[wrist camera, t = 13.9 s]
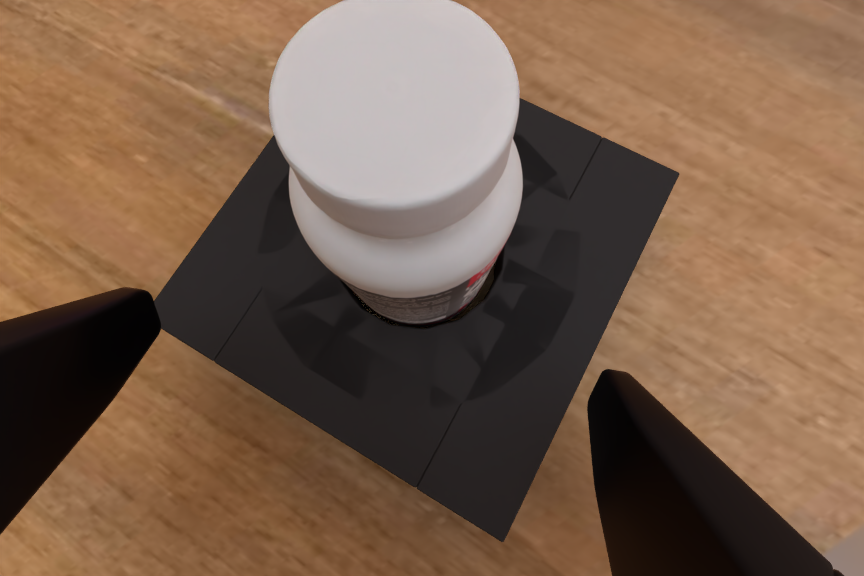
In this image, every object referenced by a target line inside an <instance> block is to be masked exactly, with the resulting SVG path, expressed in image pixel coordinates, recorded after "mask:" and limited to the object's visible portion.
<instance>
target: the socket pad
mask: <svg viewBox="0 0 864 576" xmlns="http://www.w3.org/2000/svg"><path fill="white" fill-rule="evenodd" d="M513 140H514V142H515V145H516V147H517V151H518V154H519V157H520V162H521V167H522V178H523V189H522V199H521V204H520V209H519V212H518V216H517V219H516V222H515V224H514V227H513V229H512V231H511V234H510V236H509V238H508V240H507V242H506V243H505V245H504V247H503V249H502V250H501V252H500V254H499V255H498V257H497V259H496V265H495V276H494V282H493V284H492V286H491V288H490V289H489V291H488V293H487V295H486V297H485V298H484V300H483V301H482V302H481V303H479V304H478V305H477V306H475V307H474V308H473V309H472V310H470V311H469V312H468V313H466V314H465V315H464V316H463V317H461V318H460V319H459V320H456V321H452V322H448V323H445V324H441V325H437V326H434V327H430V328H427V329H421V328H413V327H405V326H397V325H390V324H388V323H386V322H385V321H383V320H381V319H379V318H378V317H376V316H374V315H372V314H371V313H369V312H367V310H366V309H365V308H364V306H363V305H362V304H361V302H360V301H359V300H358V298H357V297H356V296H355V294H354V293H353V292H352V289H351V288H349V287H348V286H347V285H346V284H345V283H344V282H343V281H342V280H341V279H339V278H338V277H337V276H336V275H335V274H334V273H333V272H332V271H330V270H329V269H328V268H327V267H326V266H325V265H324V264H323V263H322V262H321V261H320V260H319V258H318V257H317V256H316V255H315V254H314V252H313V251H312V250H311V248H310V247H309V245H308V244H307V242H306V241H305V239H304V237H303V235H302V233H301V231H300V229H299V227H298V225H297V222H296V219H295V217H294V214H293V210H292V206H291V202H290V196H289V171H290V165H289V164H288V162H287V160H286V159H285V157H284V155H283V154H282V152H281V150H280V148H279V146H278V144H277V141H276V138H275V135H274V136H273V137H272V139H271V140H270V141H269V143H268V144H267V145H266V147H265V148H264V150H263V151H262V152H261V154H260V155H259V157H258V158H257V159H256V161H255V162H254V163H253V165H252V166H251V168H250V169H249V170H248V172H247V173H246V175H245V176H244V177H243V179H242V180H241V181H240V183H239V184H238V186H237V187H236V188H235V190H234V191H233V193H232V194H231V195H230V197H229V198H228V199H227V201H226V202H225V204H224V205H223V206H222V208H221V209H220V211H219V212H218V213H217V215H216V216H215V217H214V219H213V220H212V222H211V223H210V224H209V226H208V227H207V229H206V230H205V231H204V233H203V234H202V235H201V237H200V238H199V240H198V241H197V242H196V244H195V245H194V247H193V248H192V249H191V251H190V252H189V253H188V255H187V256H186V258H185V259H184V260H183V262H182V263H181V265H180V266H179V267H178V269H177V270H176V271H175V273H174V274H173V276H172V277H171V278H170V280H169V281H168V283H167V284H166V285H165V287H164V288H163V289H162V291H161V292H160V294H159V295H158V296H157V298H156V299H155V301H154V304H155V307H156V309H157V312H158V315H159V318H160V321H161V329H163V330H165V331H166V332H168V333H169V334H171V335H173V336H174V337H176V338H177V339H179V340H181V341H182V342H184V343H185V344H187V345H188V346H190V347H192V348H193V349H195V350H196V351H198V352H200V353H201V354H203V355H204V356H206V357H208V358H209V359H211V360H212V361H215V363H217V364H219V365H220V366H222V367H223V368H225V369H226V370H228V371H230V372H231V373H233V374H234V375H236V376H238V377H239V378H241V379H242V380H244V381H246V382H247V383H249V384H250V385H252V386H254V387H255V388H257V389H258V390H260V391H262V392H263V393H265V394H266V395H268V396H270V397H271V398H273V399H274V400H276V401H278V402H279V403H281V404H282V405H284V406H286V407H287V408H289V409H290V410H292V411H294V412H295V413H297V414H298V415H300V416H302V417H303V418H305V419H306V420H308V421H309V422H311V423H313V424H314V425H316V426H317V427H319V428H321V429H322V430H324V431H325V432H327V433H329V434H330V435H332V436H333V437H335V438H337V439H338V440H340V441H341V442H343V443H345V444H346V445H348V446H349V447H351V448H353V449H354V450H356V451H357V452H359V453H361V454H362V455H364V456H365V457H367V458H369V459H370V460H372V461H373V462H375V463H377V464H378V465H380V466H381V467H383V468H384V469H386V470H388V471H389V472H391V473H392V474H394V475H396V476H397V477H399V478H400V479H402V480H404V481H405V482H407V483H408V484H410V485H412V486H413V487H417V489H418V490H420V491H421V492H423V493H424V494H426V495H428V496H429V497H431V498H432V499H434V500H436V501H437V502H439V503H440V504H442V505H444V506H445V507H447V508H448V509H450V510H452V511H453V512H455V513H456V514H458V515H460V516H461V517H463V518H464V519H466V520H468V521H469V522H471V523H472V524H474V525H475V526H477V527H479V528H480V529H482V530H483V531H485V532H487V533H488V534H490V535H491V536H493V537H495V538H496V539H498V540H499V541H501V542H504V540H505V538H506V536H507V534H508V532H509V530H510V527H511V525H512V523H513V521H514V519H515V517H516V515H517V513H518V511H519V509H520V507H521V504H522V502H523V500H524V498H525V496H526V494H527V492H528V490H529V488H530V486H531V484H532V481H533V479H534V477H535V475H536V473H537V471H538V469H539V467H540V465H541V463H542V461H543V458H544V456H545V454H546V452H547V450H548V448H549V446H550V444H551V442H552V440H553V438H554V435H555V433H556V431H557V429H558V427H559V425H560V423H561V421H562V419H563V417H564V414H565V412H566V410H567V408H568V406H569V404H570V402H571V400H572V398H573V396H574V394H575V391H576V389H577V387H578V385H579V383H580V381H581V379H582V377H583V375H584V373H585V371H586V368H587V366H588V364H589V362H590V360H591V358H592V356H593V354H594V352H595V350H596V348H597V345H598V343H599V341H600V339H601V337H602V335H603V333H604V331H605V329H606V327H607V325H608V322H609V320H610V318H611V316H612V314H613V312H614V310H615V308H616V306H617V304H618V302H619V299H620V297H621V295H622V293H623V291H624V289H625V287H626V285H627V283H628V281H629V279H630V276H631V274H632V272H633V270H634V268H635V266H636V264H637V262H638V260H639V258H640V255H641V253H642V251H643V249H644V247H645V245H646V243H647V241H648V239H649V237H650V235H651V232H652V230H653V228H654V226H655V224H656V222H657V220H658V218H659V216H660V214H661V212H662V209H663V207H664V205H665V203H666V201H667V199H668V197H669V195H670V193H671V191H672V189H673V186H674V184H675V182H676V180H677V178H678V176H679V173H678V172H676V171H674V170H672V169H670V168H667V167H665V166H663V165H661V164H659V163H657V162H655V161H653V160H651V159H648V158H646V157H644V156H642V155H640V154H638V153H636V152H634V151H631V150H629V149H627V148H625V147H623V146H621V145H619V144H617V143H615V142H612V141H610V140H608V139H606V138H602V137H601V136H599V135H597V134H595V133H593V132H591V131H589V130H587V129H584V128H582V127H580V126H578V125H576V124H574V123H572V122H570V121H567V120H565V119H563V118H561V117H559V116H557V115H555V114H553V113H551V112H548V111H546V110H544V109H542V108H540V107H538V106H536V105H534V104H532V103H529V102H527V101H525V100H523V99H521V98H519V113H518V119H517V123H516V128H515V133H514V136H513Z"/></svg>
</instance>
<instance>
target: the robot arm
mask: <svg viewBox="0 0 864 576" xmlns="http://www.w3.org/2000/svg"><path fill="white" fill-rule="evenodd" d="M160 330H161V321H160V318H159V315H158V312H157V309H156V307H155V304H154V301H153V298H152V296H151V294H150V293H149V292H148V291H145V290H142V289H136V288H130V287H123V288H119V289H116V290H112V291H108V292H105V293H101V294H98V295H94V296H91V297H87V298H84V299H80V300H77V301H73V302H70V303H66V304H63V305H59V306H56V307H52V308H48V309H45V310H41V311H38V312H34V313H31V314H27V315H24V316H20V317H17V318H13V319H10V320H6V321H3V322H0V534H1V533H2V532H3V531H4V530H5V529H6V527H7V526H8V525H9V524H10V523H11V521H12V520H13V519H14V518H15V517H16V515H17V514H18V513H19V512H20V511H21V509H22V508H23V507H24V506H25V505H26V503H27V502H28V501H29V500H30V499H31V497H32V496H33V495H34V494H35V493H36V492H37V490H38V489H39V488H40V487H41V486H42V484H43V483H44V482H45V481H46V480H47V478H48V477H49V476H50V475H51V474H52V472H53V471H54V470H55V469H56V468H57V466H58V465H59V464H60V463H61V462H62V461H63V459H64V458H65V457H66V456H67V455H68V453H69V452H70V451H71V450H72V449H73V447H74V446H75V445H76V444H77V443H78V441H79V440H80V439H81V438H82V437H83V435H84V434H85V433H86V432H87V431H88V429H89V428H90V427H91V426H92V425H93V424H94V422H95V421H96V420H97V419H98V418H99V416H100V415H101V414H102V413H103V412H104V410H105V409H106V408H107V407H108V405H109V404H110V403H111V402H112V400H113V399H114V398H115V396H116V395H117V394H118V392H119V391H120V390H121V388H122V387H123V385H124V384H125V382H126V381H127V380H128V378H129V377H130V375H131V374H132V372H133V371H134V369H135V368H136V367H137V365H138V364H139V362H140V361H141V359H142V358H143V356H144V355H145V354H146V352H147V351H148V349H149V348H150V346H151V345H152V343H153V342H154V341H155V339H156V338H157V336H158V335H159V332H160ZM587 411H588V422H589V433H590V444H591V455H592V466H593V477H594V485H595V492H596V498H597V503H598V508H599V513H600V518H601V523H602V528H603V533H604V537H605V542H606V547H607V552H608V557H609V562H610V567H611V572H612V576H844V575H843V574H842V573H841V572H839V571H838V570H835V569H833V567H832V565H831V563H830V562H829V561H828V560H827V559H826V558H825V557H823V556H822V555H821V554H820V553H819V552H818V551H817V550H816V549H815V548H814V547H813V546H812V545H811V544H810V543H809V542H808V541H806V540H805V539H804V538H803V537H802V536H801V535H800V534H799V533H798V532H797V531H796V530H795V529H794V528H793V527H792V526H791V525H789V524H788V523H787V522H786V521H785V520H784V519H783V518H782V517H781V516H780V515H779V514H778V513H777V512H776V511H775V510H774V509H773V508H771V507H770V506H769V505H768V504H767V503H766V502H765V501H764V500H763V499H762V498H761V497H760V496H759V495H758V494H757V493H756V492H754V491H753V490H752V489H751V488H750V487H749V486H748V485H747V484H746V483H745V482H744V481H743V480H742V479H741V478H740V477H739V476H737V475H736V474H735V473H734V472H733V471H732V470H731V469H730V468H729V467H728V466H727V465H726V464H725V463H724V462H723V461H722V460H720V459H719V458H718V457H717V456H716V455H715V454H714V453H713V452H712V451H711V450H710V449H709V448H708V447H707V446H706V445H705V444H703V443H702V442H701V441H700V440H699V439H698V438H697V437H696V436H695V435H694V434H693V433H692V432H691V431H690V430H689V429H688V428H686V427H685V426H684V425H683V424H682V423H681V422H680V421H679V420H678V419H677V418H676V417H675V416H674V415H673V414H672V413H671V412H669V411H668V410H667V409H666V408H665V407H664V406H663V405H662V404H661V403H660V402H659V401H658V400H657V399H656V398H655V397H654V396H652V395H651V394H650V393H649V392H648V391H647V390H646V389H645V388H644V387H643V386H642V385H641V384H640V383H639V382H638V381H637V380H635V379H634V378H633V377H632V376H631V375H630V374H628V373H626V372H622V371H616V370H610V369H607V370H604V371H603V372H602V373H601V375H600V377H599V379H598V381H597V383H596V385H595V387H594V389H593V391H592V393H591V395H590V397H589V400H588V407H587Z"/></svg>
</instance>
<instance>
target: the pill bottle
mask: <svg viewBox="0 0 864 576" xmlns="http://www.w3.org/2000/svg"><path fill="white" fill-rule="evenodd" d="M518 113H519V82H518V77H517V72H516V69H515V65H514V63H513V60H512V58H511V56H510V54H509V52H508V49H507V48H506V46H505V44H504V43H503V41H502V40H501V39H500V37H499V36H498V34H497V33H496V32H495V31H494V30H493V29H492V28H491V27H490V25H488V24H487V23H486V22H485V21H484V20H483V19H482V18H480V17H479V16H478V15H476V14H475V13H474V12H473V11H471V10H470V9H468V8H466V7H464V6H462V5H460V4H458V3H456V2H454V1H451V0H344V1H341V2H339V3H337V4H335V5H333V6H331V7H329V8H327V9H325V10H323V11H322V12H320V13H319V14H318V15H316V16H315V17H313V18H312V19H311V20H309V21H308V22H307V23H306V24H305V25H303V26H302V27H301V28H300V29H299V31H298V32H297V33H296V34H295V35H294V36H293V38H292V39H291V40H290V41H289V42H288V44H287V45H286V47H285V48H284V50H283V52H282V54H281V56H280V57H279V59H278V62H277V64H276V67H275V70H274V73H273V76H272V80H271V85H270V90H269V115H270V121H271V126H272V130H273V133H274V135H275V138H276V141H277V144H278V146H279V148H280V150H281V152H282V154H283V155H284V157H285V159H286V160H287V162H288V164H289V165H290V171H289V196H290V202H291V206H292V210H293V214H294V217H295V219H296V222H297V225H298V227H299V229H300V231H301V233H302V235H303V237H304V239H305V241H306V242H307V244H308V245H309V247H310V248H311V250H312V251H313V252H314V254H315V255H316V256H317V257H318V258H319V260H320V261H321V262H322V263H323V264H324V265H325V266H326V267H327V268H328V269H329V270H330V271H332V272H333V273H334V274H335V275H336V276H337V277H338V278H339V279H341V280H342V281H343V282H344V283H345V284H346V285H347V286H348V287H349V288H351V289H352V290H353V291H354V292H355V293H356V294H357V295H358V296H359V297H360V298H361V299H362V300H363V301H364V302H365V303H366V304H367V305H368V306H369V307H370V308H372V309H373V310H374V311H375V312H376V313H378V314H379V315H381V316H383V317H384V318H386V319H388V320H390V321H392V322H395V323H397V324H400V325H405V326H412V327H425V326H432V325H436V324H440V323H443V322H445V321H447V320H449V319H451V318H453V317H455V316H456V315H458V314H459V313H461V312H462V311H463V310H464V309H465V308H466V307H467V306H468V305H469V304H470V303H471V302H472V301H473V299H474V298H475V297H476V295H477V294H478V292H479V290H480V289H481V287H482V285H483V284H484V282H485V280H486V278H487V276H488V274H489V272H490V270H491V268H492V266H493V264H494V263H495V261H496V259H497V257H498V255H499V254H500V252H501V250H502V249H503V247H504V245H505V243H506V242H507V240H508V238H509V236H510V234H511V231H512V229H513V227H514V224H515V222H516V219H517V216H518V212H519V209H520V204H521V199H522V189H523V178H522V167H521V162H520V157H519V154H518V151H517V147H516V145H515V142H514V140H513V136H514V133H515V128H516V123H517V119H518Z"/></svg>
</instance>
